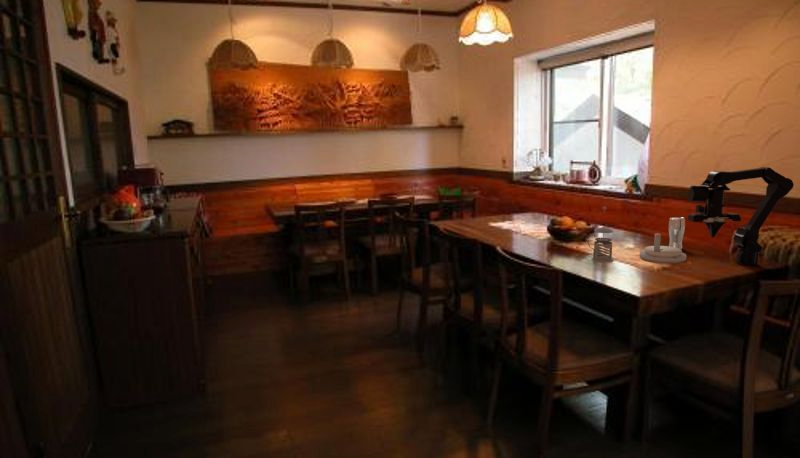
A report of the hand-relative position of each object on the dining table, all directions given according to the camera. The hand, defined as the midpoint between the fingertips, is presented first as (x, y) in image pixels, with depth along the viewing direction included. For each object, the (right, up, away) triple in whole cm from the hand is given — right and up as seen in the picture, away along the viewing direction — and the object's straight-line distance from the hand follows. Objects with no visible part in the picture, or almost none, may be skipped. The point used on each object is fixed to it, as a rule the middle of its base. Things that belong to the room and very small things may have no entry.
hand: (712, 237), depth 209 cm
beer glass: (+3, -6, +34) cm, 34 cm away
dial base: (-13, -10, +16) cm, 23 cm away
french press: (-41, -11, +17) cm, 46 cm away
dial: (-13, -8, +15) cm, 22 cm away
